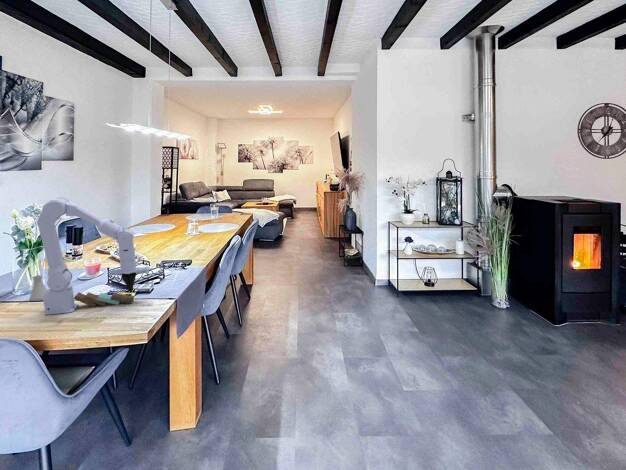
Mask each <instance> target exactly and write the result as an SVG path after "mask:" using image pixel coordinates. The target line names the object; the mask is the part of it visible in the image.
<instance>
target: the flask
mask: <svg viewBox="0 0 626 470" xmlns="http://www.w3.org/2000/svg"><path fill="white" fill-rule="evenodd" d="M42 277H43V275H42V274H41V275H39V274H37V275H33V276H32V277H31V278H32V279H33V286H32V289H31V292H30V296H29V301H32V302H42V301H43V294H44V291H45V290H48V289H47V288H46V286H45V284H44V283H43V280H42V279H43V278H42Z"/></svg>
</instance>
